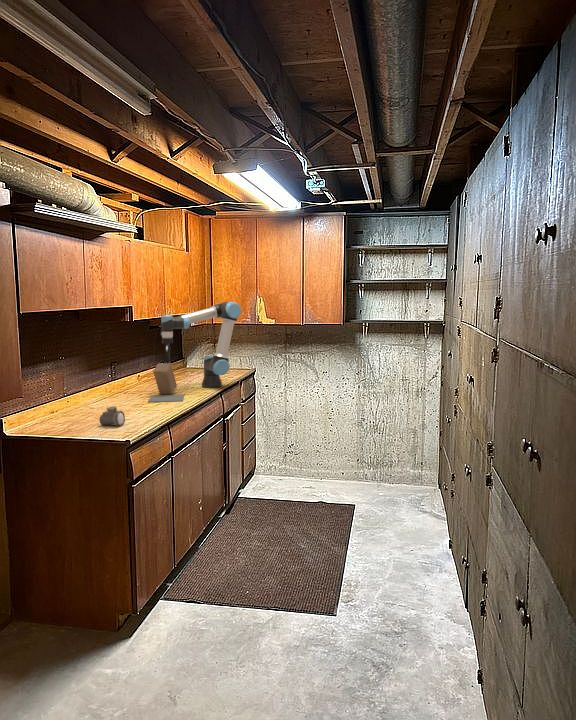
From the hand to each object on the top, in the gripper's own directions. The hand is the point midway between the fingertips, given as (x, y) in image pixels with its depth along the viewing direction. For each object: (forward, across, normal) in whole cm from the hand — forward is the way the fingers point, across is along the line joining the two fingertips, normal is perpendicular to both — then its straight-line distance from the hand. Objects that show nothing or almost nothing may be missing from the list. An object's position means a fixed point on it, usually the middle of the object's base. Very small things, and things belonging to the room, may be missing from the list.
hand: (168, 371), depth 384 cm
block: (+13, 0, 0) cm, 13 cm away
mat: (+16, +20, 0) cm, 25 cm away
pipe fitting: (+16, +93, -22) cm, 97 cm away
